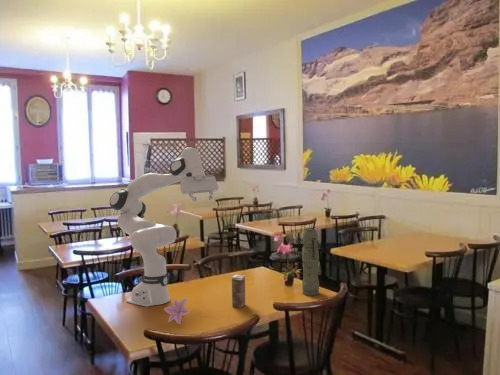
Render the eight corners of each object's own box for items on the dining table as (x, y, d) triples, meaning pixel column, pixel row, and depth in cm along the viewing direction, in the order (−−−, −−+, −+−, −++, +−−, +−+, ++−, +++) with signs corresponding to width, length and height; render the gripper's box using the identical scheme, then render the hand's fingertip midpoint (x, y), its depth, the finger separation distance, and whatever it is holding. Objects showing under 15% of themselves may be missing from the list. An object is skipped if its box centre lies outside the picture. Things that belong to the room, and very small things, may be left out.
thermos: (310, 289, 241) (310, 226, 238) (324, 294, 231) (323, 229, 228) (297, 291, 237) (296, 228, 234) (310, 297, 226) (310, 231, 224)
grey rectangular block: (232, 306, 215) (231, 277, 214) (236, 303, 220) (235, 274, 219) (241, 307, 214) (241, 278, 213) (245, 304, 218) (244, 275, 217)
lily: (163, 319, 203) (158, 305, 198) (183, 305, 209) (179, 291, 204) (177, 334, 195) (172, 320, 190) (198, 318, 201) (194, 304, 196)
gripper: (211, 176, 235) (218, 200, 231) (176, 179, 224) (182, 204, 220) (216, 172, 230) (223, 196, 226) (181, 174, 219) (187, 199, 215)
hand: (203, 200), depth 223 cm, fingers open, 8 cm apart
